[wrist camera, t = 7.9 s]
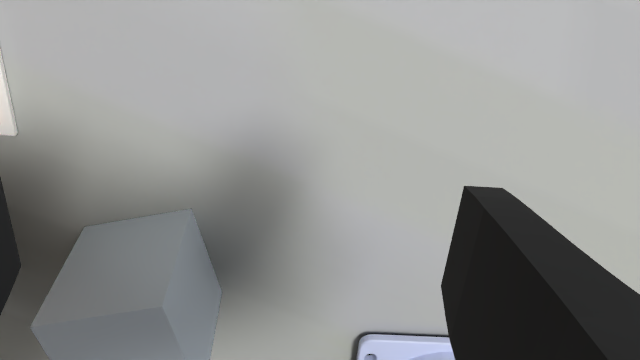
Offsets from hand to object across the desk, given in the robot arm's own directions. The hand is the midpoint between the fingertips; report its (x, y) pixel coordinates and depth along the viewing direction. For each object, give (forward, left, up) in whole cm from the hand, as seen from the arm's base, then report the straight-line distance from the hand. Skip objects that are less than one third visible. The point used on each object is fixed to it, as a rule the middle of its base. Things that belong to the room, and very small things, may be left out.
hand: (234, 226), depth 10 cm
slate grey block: (-9, +4, -10) cm, 14 cm away
